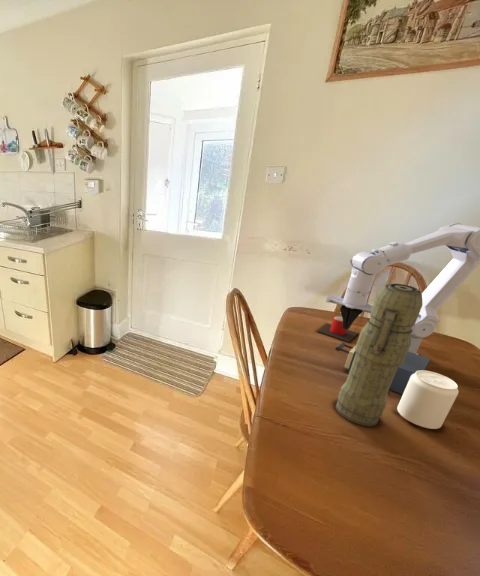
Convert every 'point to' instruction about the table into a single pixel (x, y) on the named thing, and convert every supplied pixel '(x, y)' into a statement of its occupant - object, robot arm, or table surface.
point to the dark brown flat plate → (326, 330)
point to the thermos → (379, 353)
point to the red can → (337, 326)
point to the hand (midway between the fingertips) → (346, 328)
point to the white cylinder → (427, 399)
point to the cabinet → (405, 370)
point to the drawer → (350, 353)
